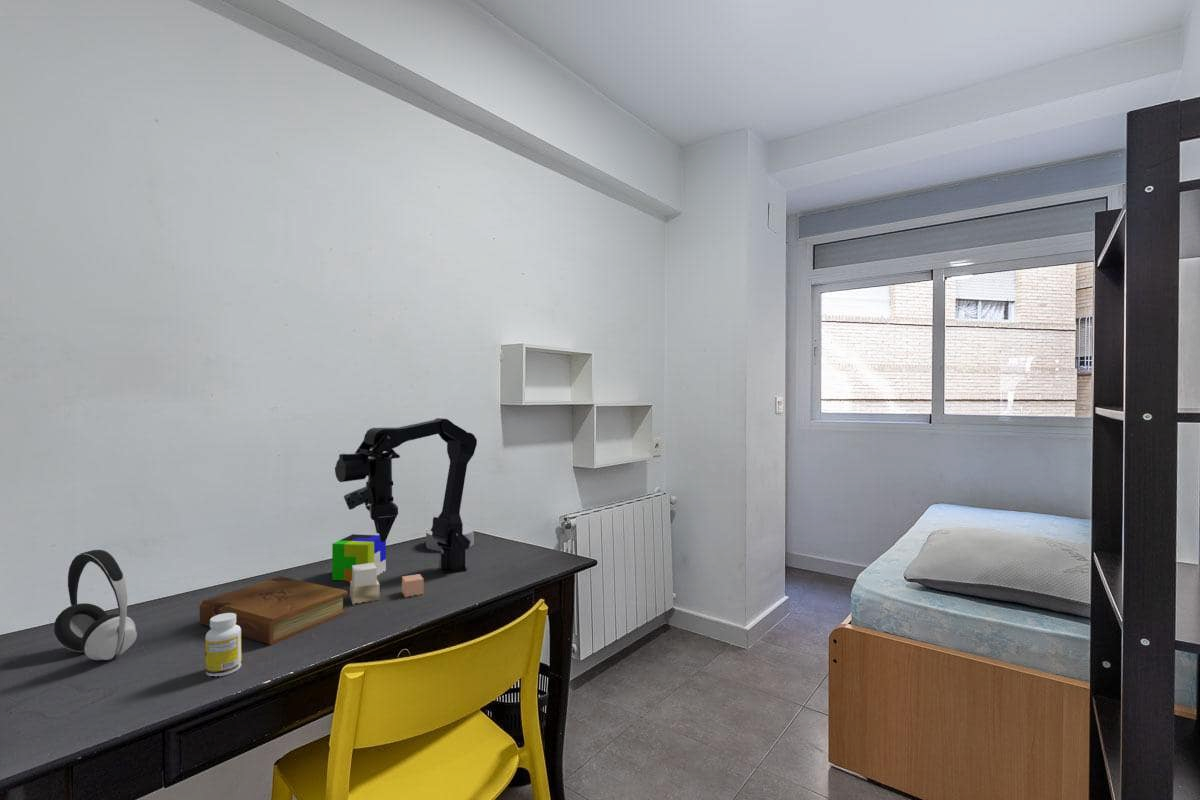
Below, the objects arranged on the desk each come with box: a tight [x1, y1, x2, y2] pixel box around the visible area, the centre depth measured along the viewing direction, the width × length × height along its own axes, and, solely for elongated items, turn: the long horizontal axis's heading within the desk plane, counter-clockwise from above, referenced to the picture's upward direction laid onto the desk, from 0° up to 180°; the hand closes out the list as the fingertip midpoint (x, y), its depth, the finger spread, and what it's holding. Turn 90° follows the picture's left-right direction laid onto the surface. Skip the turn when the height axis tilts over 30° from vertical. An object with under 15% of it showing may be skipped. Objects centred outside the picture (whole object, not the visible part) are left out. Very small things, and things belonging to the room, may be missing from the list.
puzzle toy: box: [331, 533, 387, 582], centre depth 155 cm, size 10×10×10 cm
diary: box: [199, 575, 348, 646], centre depth 125 cm, size 23×19×6 cm
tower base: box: [349, 579, 381, 605], centre depth 138 cm, size 6×6×4 cm
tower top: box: [352, 563, 378, 588], centre depth 137 cm, size 5×5×4 cm
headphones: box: [53, 549, 138, 661], centre depth 107 cm, size 19×8×20 cm, turn 65°
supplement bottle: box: [204, 613, 243, 678], centre depth 102 cm, size 5×5×10 cm
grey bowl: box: [425, 525, 475, 552], centre depth 186 cm, size 15×15×5 cm
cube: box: [401, 573, 425, 598], centre depth 141 cm, size 4×4×4 cm
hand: (380, 537), depth 144 cm, fingers open, 9 cm apart
